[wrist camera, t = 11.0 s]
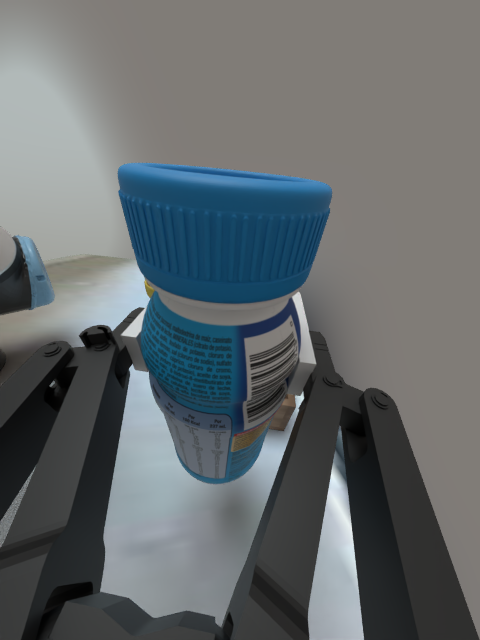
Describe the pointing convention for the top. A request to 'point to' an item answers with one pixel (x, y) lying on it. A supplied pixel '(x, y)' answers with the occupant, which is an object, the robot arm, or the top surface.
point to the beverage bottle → (221, 300)
